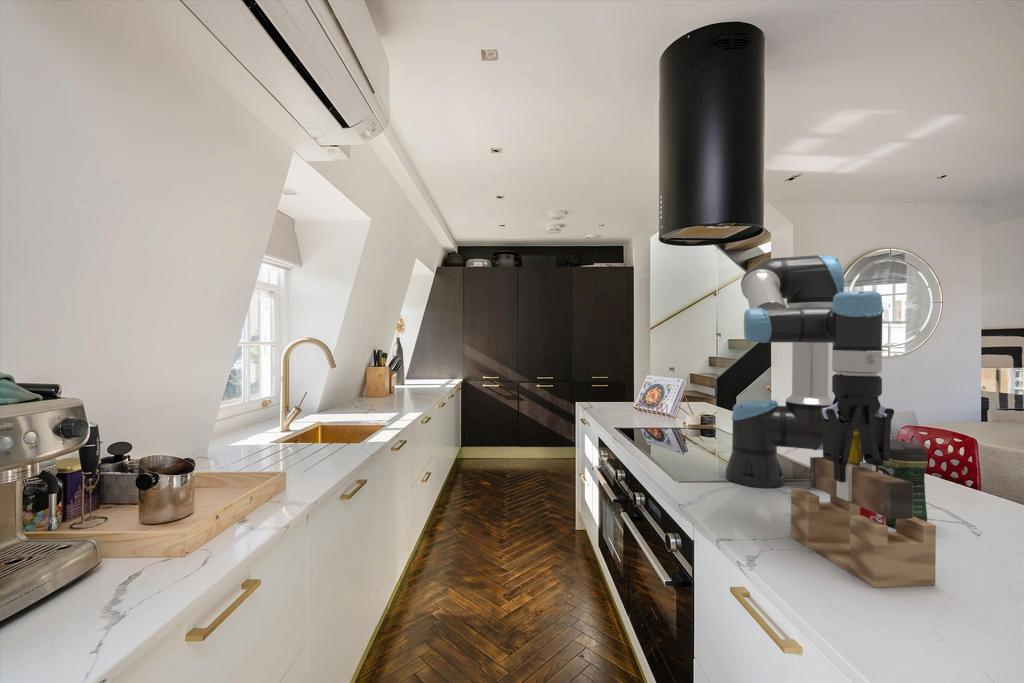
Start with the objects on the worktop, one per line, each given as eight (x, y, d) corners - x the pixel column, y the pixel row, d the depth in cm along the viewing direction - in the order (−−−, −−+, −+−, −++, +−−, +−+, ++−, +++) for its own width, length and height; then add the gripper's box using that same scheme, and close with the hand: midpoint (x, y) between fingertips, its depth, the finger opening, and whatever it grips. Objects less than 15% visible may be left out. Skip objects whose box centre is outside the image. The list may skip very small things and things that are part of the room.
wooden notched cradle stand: (790, 536, 96) (791, 488, 96) (839, 534, 97) (840, 487, 97) (874, 587, 76) (875, 527, 76) (935, 584, 77) (935, 525, 77)
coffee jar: (936, 532, 99) (936, 445, 99) (899, 531, 99) (900, 445, 99) (897, 515, 109) (898, 436, 109) (864, 515, 109) (864, 436, 109)
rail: (810, 486, 95) (810, 457, 95) (830, 486, 96) (830, 457, 96) (889, 519, 77) (889, 483, 77) (913, 518, 78) (913, 482, 78)
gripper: (829, 375, 82) (828, 506, 82) (917, 375, 84) (916, 504, 84) (799, 372, 90) (798, 493, 90) (880, 372, 91) (880, 491, 91)
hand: (855, 498), depth 87 cm, fingers closed on rail, 4 cm apart
